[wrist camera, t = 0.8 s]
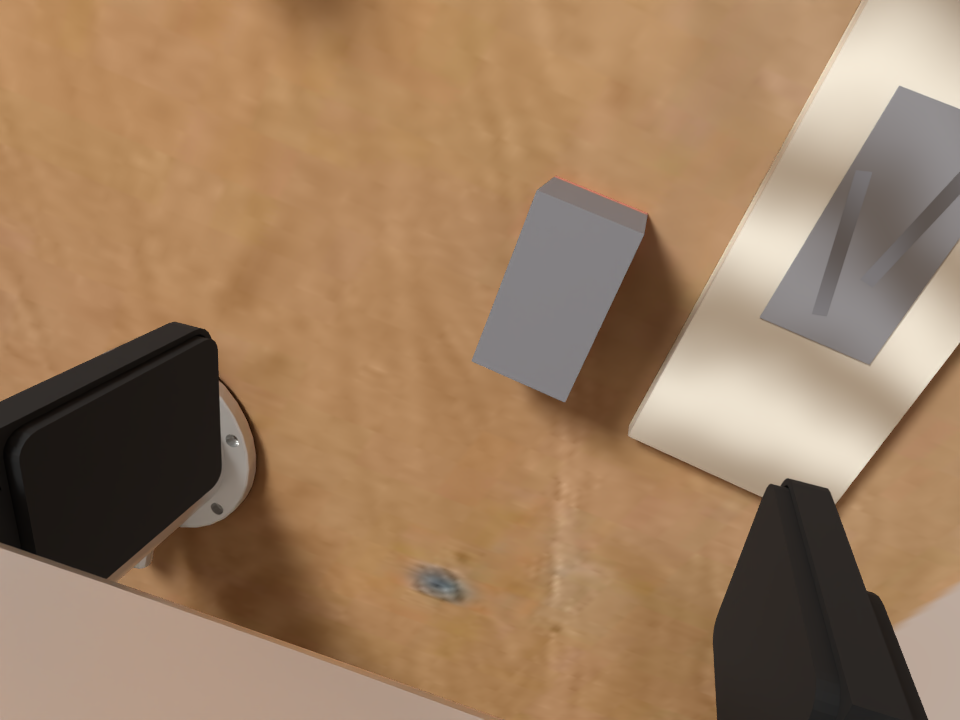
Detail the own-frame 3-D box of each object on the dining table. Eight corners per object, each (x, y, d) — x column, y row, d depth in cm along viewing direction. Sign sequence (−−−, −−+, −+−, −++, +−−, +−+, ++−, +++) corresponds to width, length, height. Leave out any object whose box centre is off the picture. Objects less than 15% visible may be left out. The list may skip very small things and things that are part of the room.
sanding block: (578, 360, 33) (564, 402, 29) (497, 325, 34) (471, 361, 29) (647, 212, 30) (644, 234, 25) (556, 175, 30) (537, 190, 26)
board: (815, 509, 33) (820, 524, 32) (629, 425, 34) (627, 437, 33) (1258, -77, 22) (1292, -87, 20) (960, -181, 22) (977, -195, 21)
